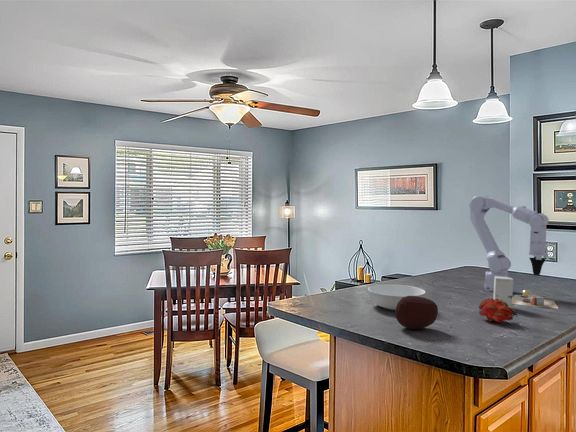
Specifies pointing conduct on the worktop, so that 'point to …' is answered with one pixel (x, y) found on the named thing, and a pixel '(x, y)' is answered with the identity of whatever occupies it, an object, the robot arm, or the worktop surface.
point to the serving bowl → (392, 294)
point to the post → (526, 293)
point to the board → (546, 304)
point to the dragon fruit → (496, 310)
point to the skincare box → (503, 289)
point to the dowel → (532, 300)
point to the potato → (416, 312)
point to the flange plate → (538, 300)
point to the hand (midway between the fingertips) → (536, 275)
